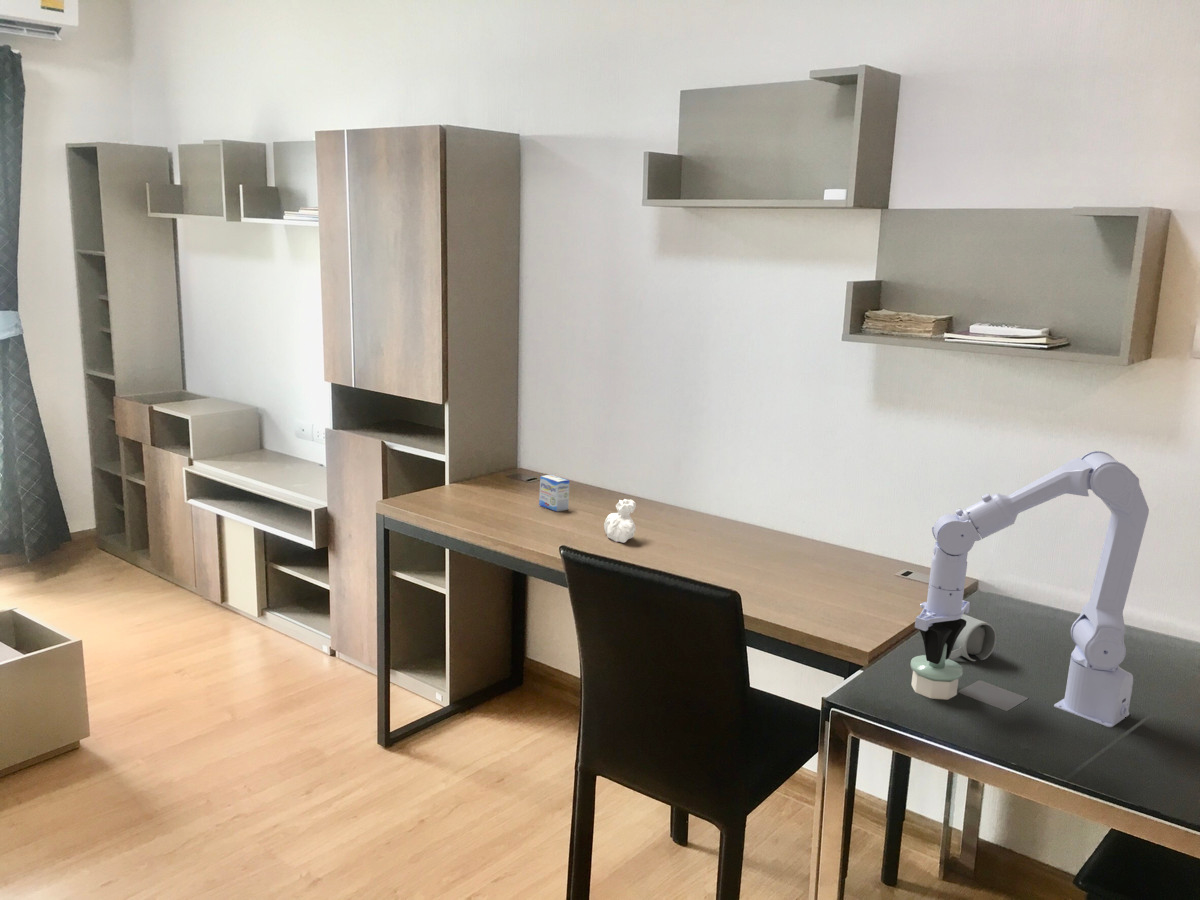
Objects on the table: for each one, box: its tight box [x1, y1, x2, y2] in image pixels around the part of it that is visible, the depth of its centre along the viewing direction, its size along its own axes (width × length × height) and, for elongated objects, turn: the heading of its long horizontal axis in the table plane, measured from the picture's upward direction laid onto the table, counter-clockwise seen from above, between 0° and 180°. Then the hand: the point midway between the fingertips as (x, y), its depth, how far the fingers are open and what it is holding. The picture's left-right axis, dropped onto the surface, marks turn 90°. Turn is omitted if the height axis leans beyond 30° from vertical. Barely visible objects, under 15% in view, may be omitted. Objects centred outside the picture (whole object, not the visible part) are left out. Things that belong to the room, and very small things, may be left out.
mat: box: [957, 679, 1029, 712], centre depth 173 cm, size 9×8×1 cm
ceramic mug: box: [948, 613, 997, 662], centre depth 190 cm, size 11×8×8 cm
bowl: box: [910, 670, 959, 700], centre depth 174 cm, size 7×7×4 cm
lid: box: [910, 643, 964, 681], centre depth 173 cm, size 9×9×5 cm
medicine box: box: [538, 474, 570, 512], centre depth 280 cm, size 8×4×9 cm, turn 43°
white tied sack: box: [603, 498, 637, 544], centre depth 254 cm, size 12×8×11 cm
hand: (937, 659), depth 173 cm, fingers closed on lid, 2 cm apart
